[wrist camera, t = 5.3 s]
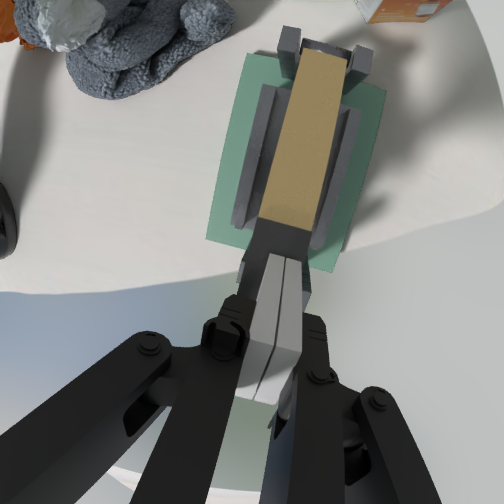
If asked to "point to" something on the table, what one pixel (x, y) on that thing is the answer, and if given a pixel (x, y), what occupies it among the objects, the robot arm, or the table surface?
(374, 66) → the table surface
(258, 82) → the board
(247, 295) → the tan and black bar
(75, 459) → the robot arm
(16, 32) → the orange tall rounded piece
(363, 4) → the small box
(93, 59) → the koala plush
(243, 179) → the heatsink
